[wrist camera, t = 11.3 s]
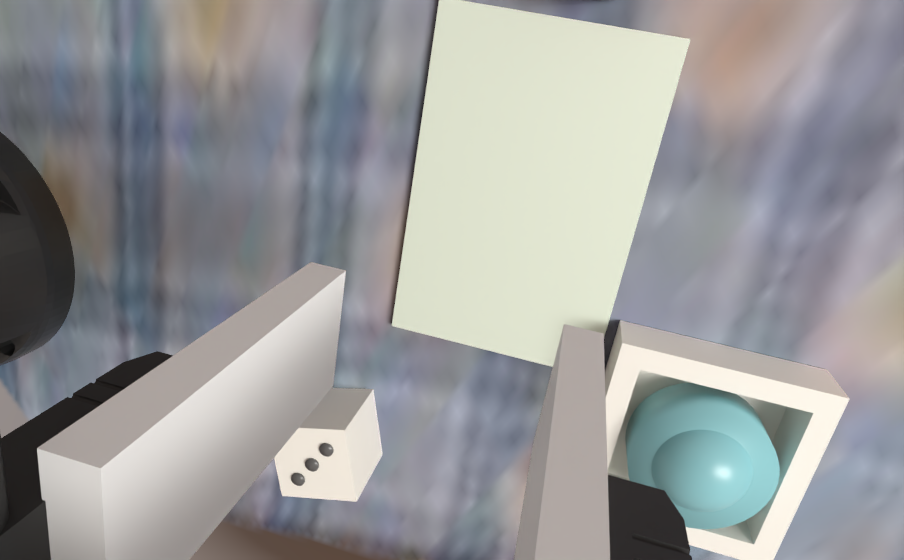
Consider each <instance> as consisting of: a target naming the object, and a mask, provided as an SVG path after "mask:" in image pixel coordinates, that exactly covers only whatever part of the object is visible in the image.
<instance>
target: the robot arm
mask: <svg viewBox="0 0 904 560" xmlns="http://www.w3.org/2000/svg"><path fill="white" fill-rule="evenodd" d="M345 274H346V271H345V270H341V269H337V268H333V267H329V266H325V265H321V264H317V263H313V262H310V263H309V264H308V265H306V266H305V267H303V268H302V269H300V270H299V271H297V272H296V273H294V274H293V275H291V276H290V277H288V278H287V279H285V280H284V281H282V282H281V283H280V284H278V285H277V286H275V287H274V288H272V289H271V290H269V291H268V292H266V293H265V294H263V295H262V296H260V297H259V298H257V299H256V300H255V301H253V302H252V303H250V304H249V305H247V306H246V307H244V308H243V309H241V310H240V311H238V312H237V313H235V314H234V315H232V316H231V317H229V318H228V319H227V320H225V321H224V322H222V323H221V324H219V325H218V326H216V327H215V328H213V329H212V330H210V331H209V332H207V333H206V334H204V335H203V336H201V337H200V338H199V339H197V340H196V341H194V342H193V343H191V344H190V345H188V346H187V347H185V348H184V349H182V350H181V351H179V352H178V353H176V354H175V355H173V356H172V355H169V354H165V353H161V352H158V351H157V352H154V353H151V354H148V355H145V356H142V357H139V358H136V359H132V360H129V361H126V362H123V363H122V364H120V365H118V366H117V367H115V368H114V369H112V370H110V371H109V372H107V373H106V374H104V375H102V376H101V377H99V378H98V379H96V382H95V383H89V384H88V385H86V386H85V387H83V388H81V389H80V390H78V391H77V392H75V393H73V396H72V398H68V397H67V398H65V399H64V400H62V401H60V402H59V403H57V404H56V405H54V406H52V407H51V408H49V409H48V410H46V411H44V412H43V413H41V414H40V415H38V416H36V417H35V418H33V419H32V420H30V421H28V422H27V423H25V424H24V425H22V426H20V427H19V428H17V429H15V430H14V431H12V432H11V433H9V434H8V435H6V436H4V437H3V438H1V436H0V560H190V558H191V557H192V556H193V555H194V554H195V552H196V551H197V550H198V549H199V548H200V546H201V545H202V544H203V543H204V541H205V540H206V539H207V538H208V537H209V535H210V534H211V533H212V532H213V530H214V529H215V528H216V527H217V526H218V525H219V523H220V522H221V521H222V520H223V519H224V517H225V516H226V515H227V514H228V513H229V511H230V510H231V509H232V508H233V507H234V505H235V504H236V503H237V502H238V500H239V499H240V498H241V497H242V496H243V494H244V493H245V492H246V491H247V490H248V488H249V487H250V486H251V485H252V484H253V482H254V481H255V480H256V479H257V478H258V476H259V475H260V474H261V473H262V471H263V470H264V469H265V468H266V467H267V465H268V464H269V463H270V462H271V461H272V459H273V458H274V457H275V456H276V455H277V453H278V452H279V451H280V450H281V449H282V447H283V446H284V445H285V444H286V442H287V441H288V440H289V439H290V438H291V436H292V435H293V434H294V433H295V432H296V430H297V429H298V428H299V427H300V426H301V424H302V423H303V422H304V421H305V420H306V418H307V417H308V416H309V415H310V414H311V412H312V411H313V410H314V409H315V407H316V406H317V405H318V404H319V403H320V401H321V400H322V399H323V398H324V397H325V395H326V394H327V393H328V392H329V391H330V389H331V388H332V387H333V382H334V373H335V364H336V355H337V346H338V337H339V328H340V319H341V310H342V301H343V292H344V283H345ZM74 281H75V269H74V257H73V251H72V246H71V242H70V237H69V234H68V231H67V227H66V224H65V222H64V219H63V216H62V214H61V212H60V209H59V207H58V205H57V203H56V201H55V199H54V197H53V195H52V193H51V191H50V190H49V188H48V186H47V185H46V183H45V181H44V180H43V178H42V177H41V175H40V174H39V173H38V171H37V170H36V168H35V167H34V166H33V165H32V163H31V162H30V161H29V160H28V158H27V157H26V156H25V155H24V154H23V153H22V152H21V151H20V150H19V149H18V148H17V147H16V146H15V145H14V144H13V143H12V142H11V141H10V140H9V139H8V138H7V137H6V136H5V135H3V134H2V133H1V132H0V365H3V364H6V363H8V362H11V361H14V360H16V359H18V358H20V357H22V356H24V355H26V354H27V353H29V352H31V351H33V350H35V349H37V348H39V347H41V346H42V345H44V344H45V343H47V342H48V341H49V340H50V339H51V338H52V337H53V336H54V335H55V334H56V333H57V332H58V330H59V329H60V327H61V326H62V324H63V323H64V321H65V319H66V317H67V314H68V312H69V309H70V306H71V302H72V298H73V292H74ZM689 552H690V547H689V542H688V537H687V532H686V527H685V521H684V519H683V517H682V516H681V514H680V513H679V511H678V510H677V508H676V507H675V505H674V504H673V502H672V501H671V499H670V498H669V496H668V495H667V494H666V492H665V491H664V490H661V489H657V488H654V487H650V486H647V485H643V484H640V483H636V482H632V481H629V480H625V479H622V478H618V477H614V476H611V475H608V467H607V433H606V398H605V363H604V334H603V333H599V332H595V331H591V330H587V329H583V328H579V327H574V326H570V325H566V324H564V326H563V330H562V334H561V337H560V341H559V345H558V349H557V353H556V357H555V361H554V364H553V368H552V372H551V376H550V380H549V384H548V388H547V391H546V395H545V399H544V403H543V407H542V411H541V414H540V418H539V422H538V426H537V430H536V434H535V438H534V441H533V447H532V453H531V459H530V465H529V471H528V477H527V483H526V489H525V495H524V501H523V507H522V513H521V519H520V525H519V531H518V537H517V543H516V549H515V555H514V560H692V557H691V556H690V555H689Z"/></svg>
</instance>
